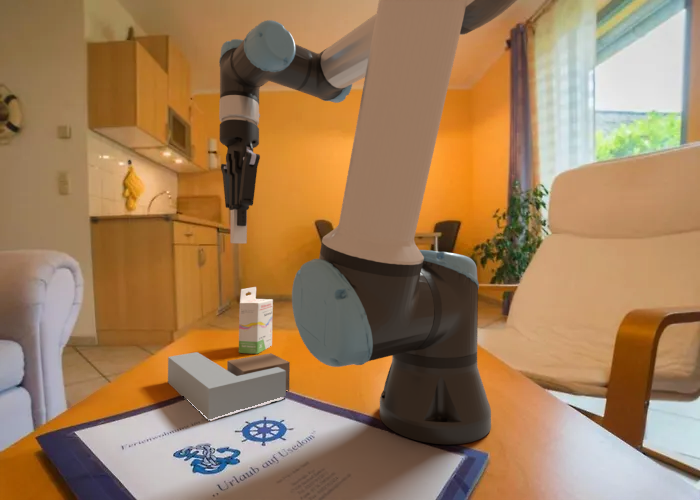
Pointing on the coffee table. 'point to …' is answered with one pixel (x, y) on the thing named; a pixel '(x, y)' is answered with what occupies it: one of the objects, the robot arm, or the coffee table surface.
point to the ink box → (254, 322)
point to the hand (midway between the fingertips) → (238, 243)
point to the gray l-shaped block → (222, 385)
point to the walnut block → (258, 365)
